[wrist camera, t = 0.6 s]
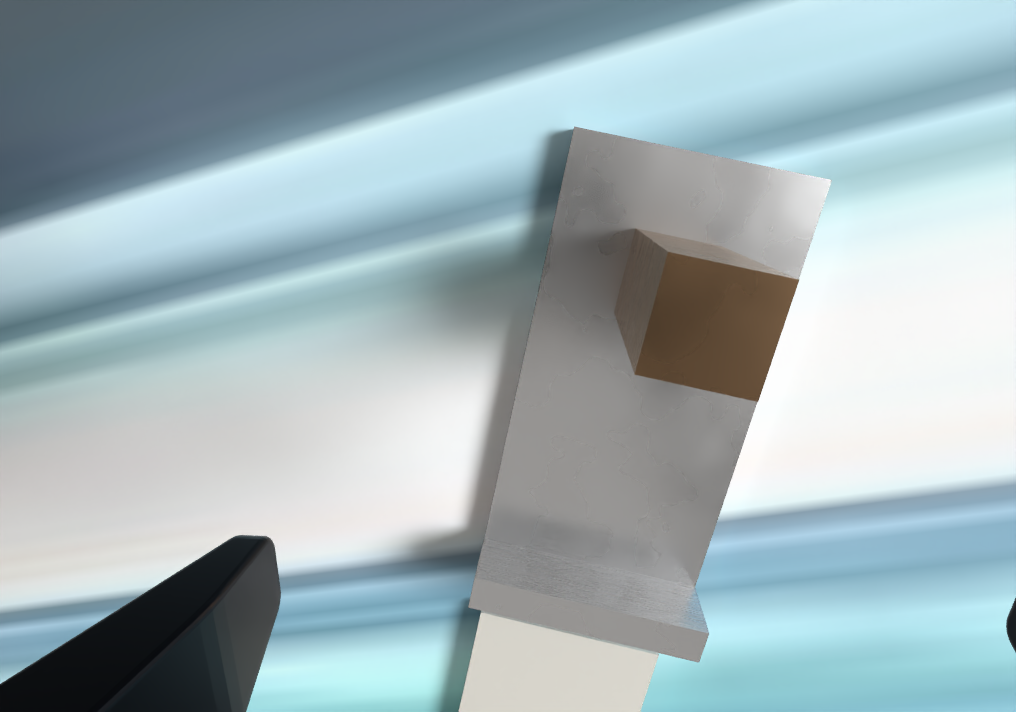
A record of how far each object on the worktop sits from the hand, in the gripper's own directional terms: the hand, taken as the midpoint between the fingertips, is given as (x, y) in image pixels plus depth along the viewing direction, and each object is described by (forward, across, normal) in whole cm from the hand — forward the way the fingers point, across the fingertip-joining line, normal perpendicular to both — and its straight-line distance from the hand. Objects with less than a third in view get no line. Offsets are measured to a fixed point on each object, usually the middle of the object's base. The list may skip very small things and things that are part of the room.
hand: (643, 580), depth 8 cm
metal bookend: (+14, -2, +4) cm, 15 cm away
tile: (+14, 0, +17) cm, 22 cm away
